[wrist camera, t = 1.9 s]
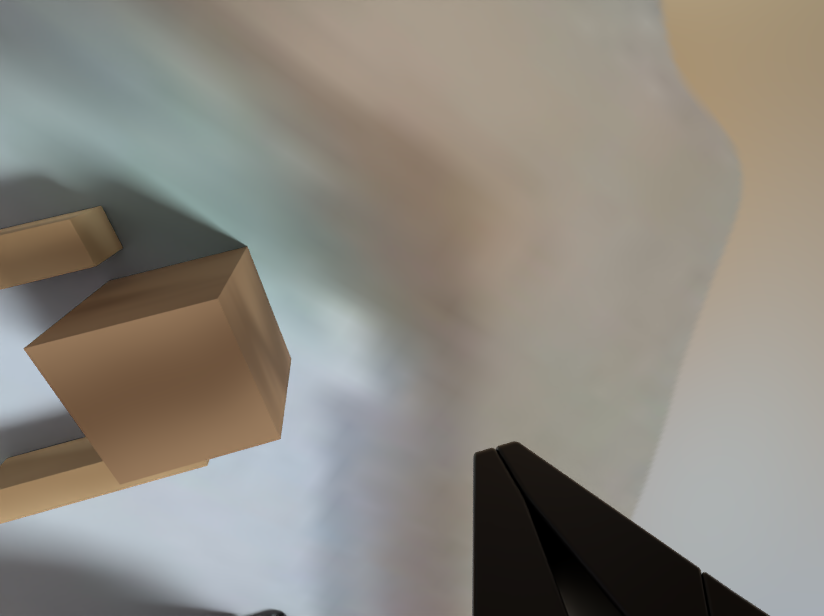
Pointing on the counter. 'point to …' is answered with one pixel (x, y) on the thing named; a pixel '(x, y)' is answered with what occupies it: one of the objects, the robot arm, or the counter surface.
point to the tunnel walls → (78, 460)
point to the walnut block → (171, 365)
